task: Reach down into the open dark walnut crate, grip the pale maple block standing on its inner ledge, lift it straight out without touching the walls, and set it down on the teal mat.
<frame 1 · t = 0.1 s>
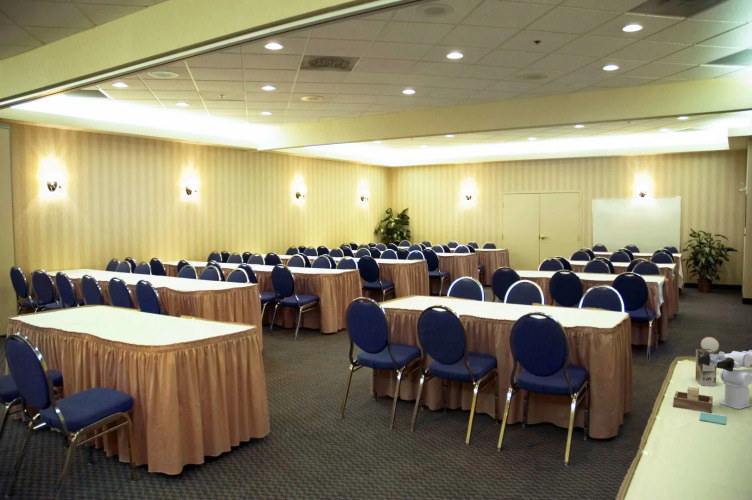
hand: (708, 362, 226), 22 cm above the table, tool horizontal, fingers open, 7 cm apart
coffee box: (705, 383, 265), on the table
walnut crate: (692, 406, 236), on the table
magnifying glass: (709, 375, 278), on the table
teal mat: (712, 419, 222), on the table
maple block: (692, 402, 236), point 2 cm above the table, touching walnut crate
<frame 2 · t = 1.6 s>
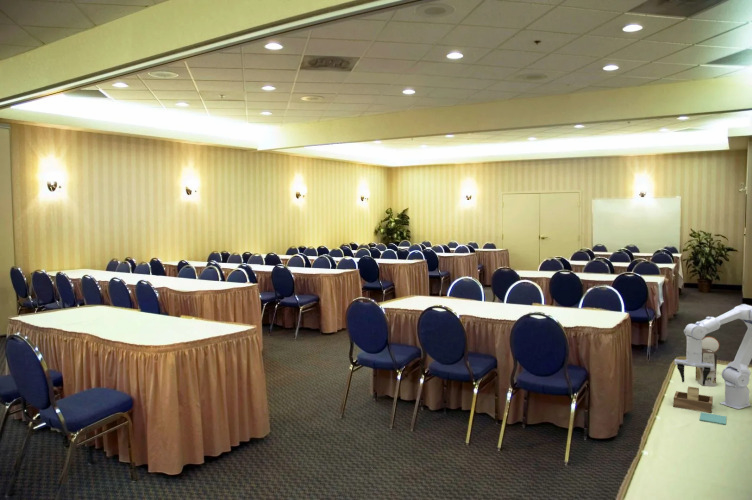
hand: (693, 383, 235), 10 cm above the table, tool pointing down, fingers open, 7 cm apart
nothing on the table moved.
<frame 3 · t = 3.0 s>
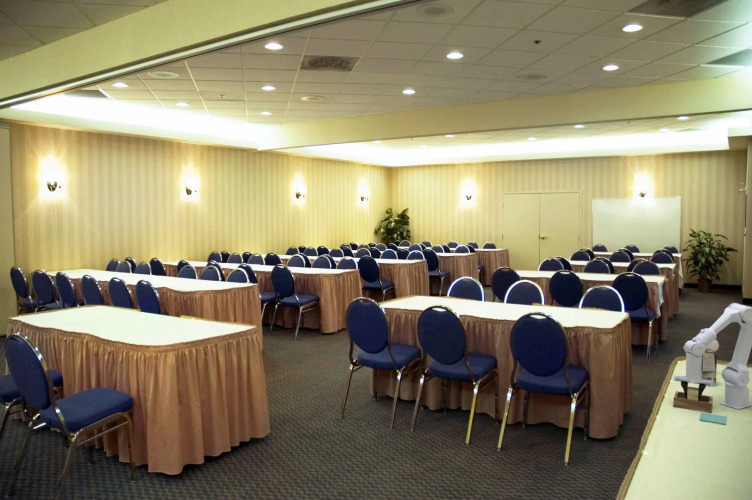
hand: (692, 399, 235), 3 cm above the table, tool pointing down, fingers closed on maple block, 4 cm apart
maple block: (692, 402, 236), point 2 cm above the table, touching gripper, walnut crate
everything else where it was.
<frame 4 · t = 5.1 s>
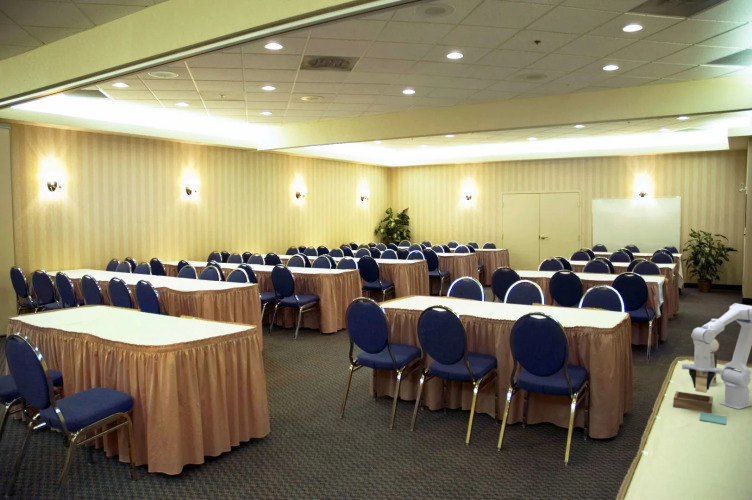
hand: (701, 388, 229), 10 cm above the table, tool pointing down, fingers closed on maple block, 4 cm apart
maple block: (701, 390, 229), point 9 cm above the table, touching gripper
everything else where it was.
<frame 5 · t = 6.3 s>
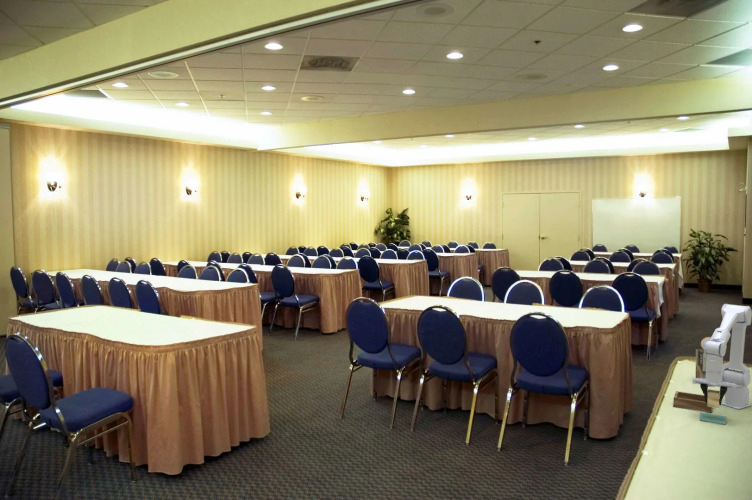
hand: (713, 403, 221), 7 cm above the table, tool pointing down, fingers closed on maple block, 4 cm apart
maple block: (713, 405, 221), point 6 cm above the table, touching gripper
everything else where it was.
when the fingers open (3 cm above the table, at t = 7.3 s): maple block drops 2 cm, resting on teal mat.
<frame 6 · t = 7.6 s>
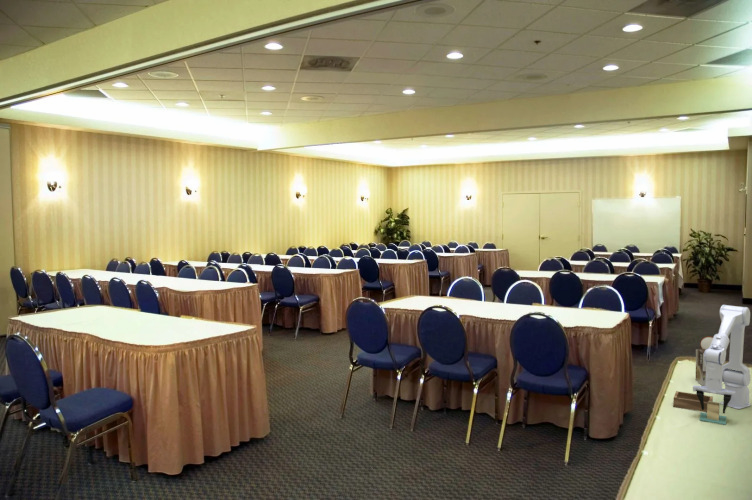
hand: (713, 410, 221), 3 cm above the table, tool pointing down, fingers open, 7 cm apart
maple block: (713, 417, 222), resting on teal mat
everything else where it was.
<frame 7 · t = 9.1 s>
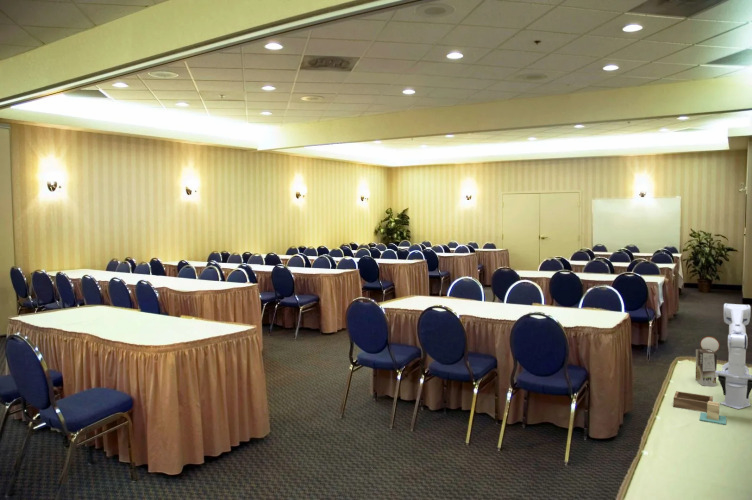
hand: (735, 396, 221), 9 cm above the table, tool pointing down, fingers open, 7 cm apart
nothing on the table moved.
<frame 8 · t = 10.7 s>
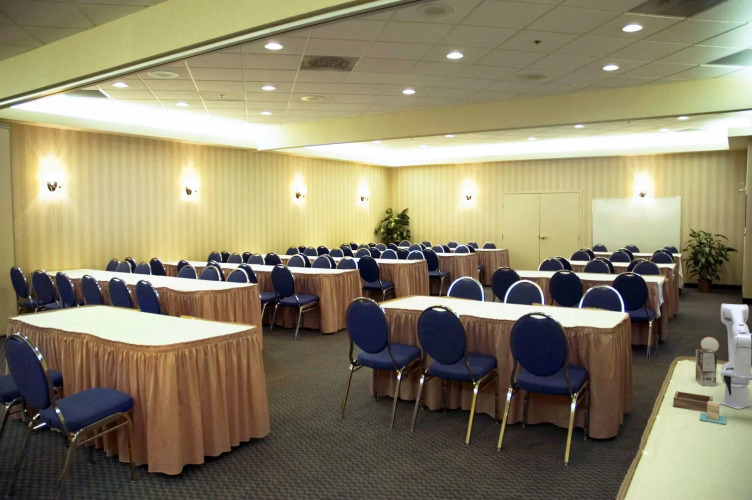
hand: (741, 396, 221), 9 cm above the table, tool pointing down, fingers open, 7 cm apart
nothing on the table moved.
at the end: maple block 0.1 cm off-centre on the teal mat, point 0.5 cm above the teal mat's base; maple block tilted 0°; the gripper is holding nothing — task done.
